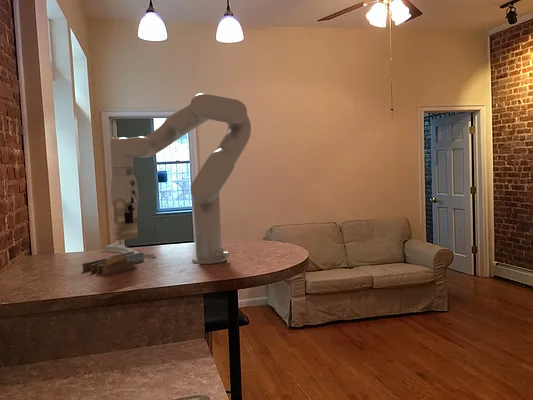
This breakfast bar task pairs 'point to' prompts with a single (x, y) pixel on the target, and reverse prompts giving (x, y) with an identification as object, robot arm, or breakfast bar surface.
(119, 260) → the offcut top
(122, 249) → the molding
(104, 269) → the offcut bottom
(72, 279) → the breakfast bar surface
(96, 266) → the rack
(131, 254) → the stand
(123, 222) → the beige wooden block
